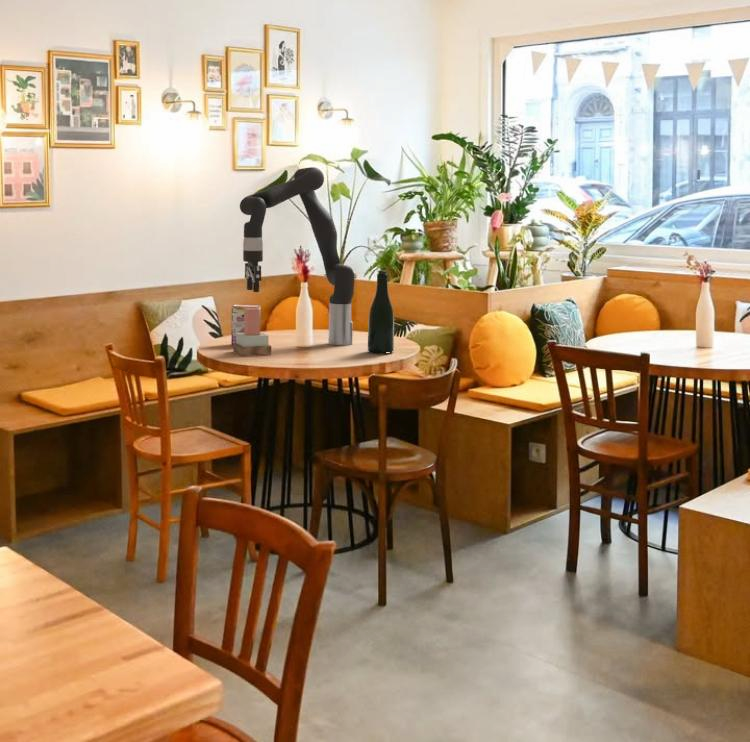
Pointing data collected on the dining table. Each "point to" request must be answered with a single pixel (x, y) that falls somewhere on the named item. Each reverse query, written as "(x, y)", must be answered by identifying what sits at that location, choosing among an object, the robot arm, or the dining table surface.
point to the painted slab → (252, 340)
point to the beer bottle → (381, 318)
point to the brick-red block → (251, 321)
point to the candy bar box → (238, 320)
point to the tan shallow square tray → (251, 350)
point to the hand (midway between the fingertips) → (252, 291)
